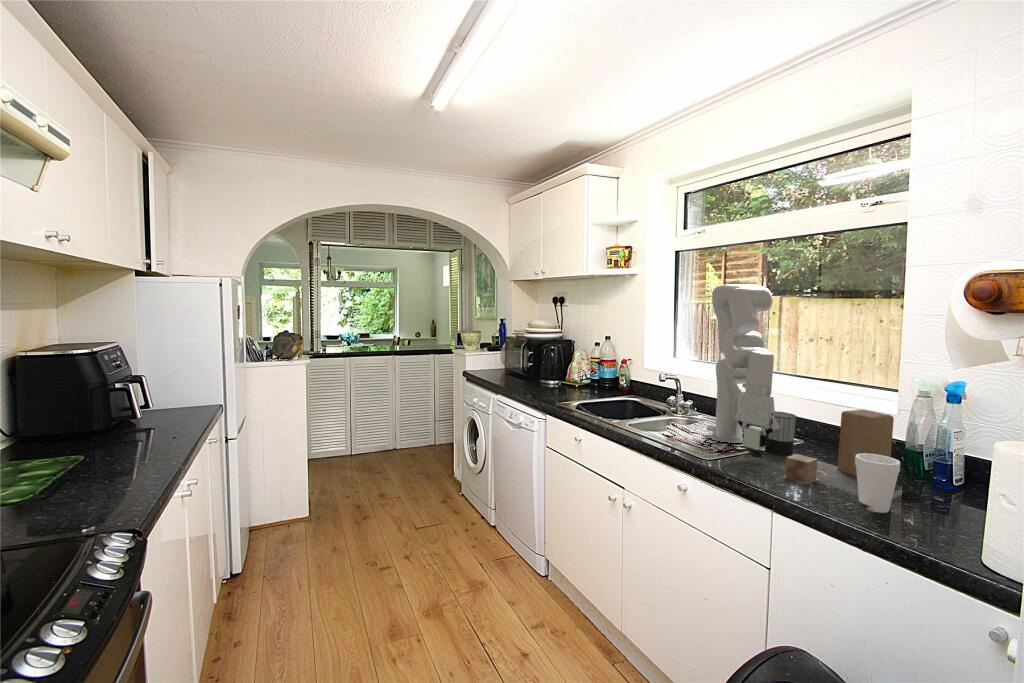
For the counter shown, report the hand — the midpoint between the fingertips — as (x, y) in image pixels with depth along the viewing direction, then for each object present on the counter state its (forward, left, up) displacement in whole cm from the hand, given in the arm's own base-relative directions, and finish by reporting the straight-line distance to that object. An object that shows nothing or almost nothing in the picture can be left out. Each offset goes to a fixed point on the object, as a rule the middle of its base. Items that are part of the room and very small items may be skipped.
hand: (754, 443), depth 168 cm
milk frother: (-1, +13, -7) cm, 15 cm away
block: (+26, +16, -7) cm, 31 cm away
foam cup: (+37, -9, -7) cm, 39 cm away
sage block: (0, 0, -1) cm, 1 cm away
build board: (+15, -3, -7) cm, 17 cm away
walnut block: (+17, -5, -6) cm, 19 cm away
